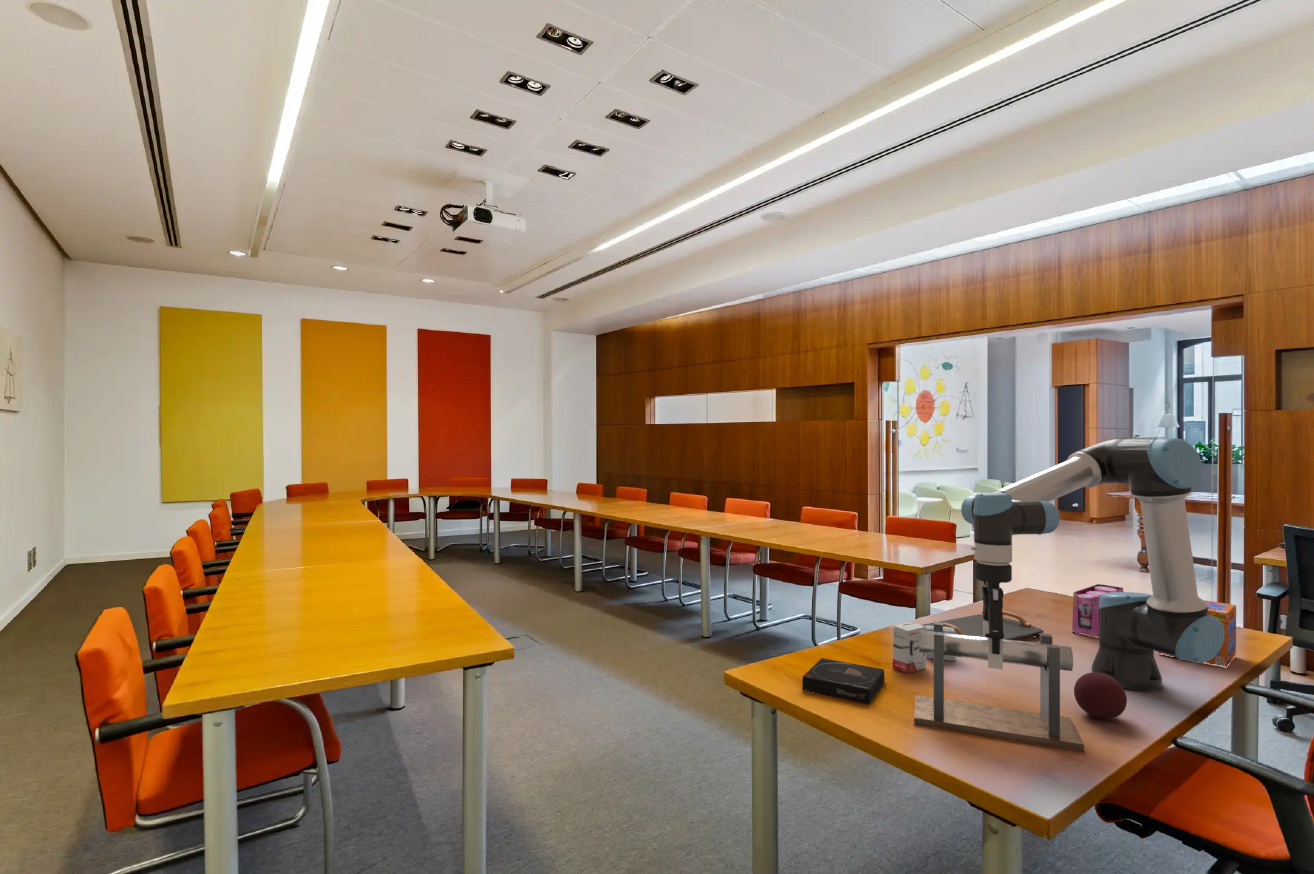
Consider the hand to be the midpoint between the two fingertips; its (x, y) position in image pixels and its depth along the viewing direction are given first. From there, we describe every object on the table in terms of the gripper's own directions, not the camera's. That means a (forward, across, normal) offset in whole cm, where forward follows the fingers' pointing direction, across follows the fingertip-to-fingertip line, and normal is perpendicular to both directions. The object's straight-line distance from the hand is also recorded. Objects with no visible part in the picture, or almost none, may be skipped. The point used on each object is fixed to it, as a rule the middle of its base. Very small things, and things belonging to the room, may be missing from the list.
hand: (992, 658), depth 143 cm
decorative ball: (+15, -14, +23) cm, 31 cm away
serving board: (+15, -73, +2) cm, 75 cm away
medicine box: (+15, -44, -10) cm, 47 cm away
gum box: (+15, -96, +40) cm, 105 cm away
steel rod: (0, -1, 0) cm, 1 cm away
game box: (+15, -76, +60) cm, 98 cm away
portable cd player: (+15, -10, -33) cm, 38 cm away
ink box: (+15, -31, -18) cm, 39 cm away
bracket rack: (+15, 0, 0) cm, 15 cm away
